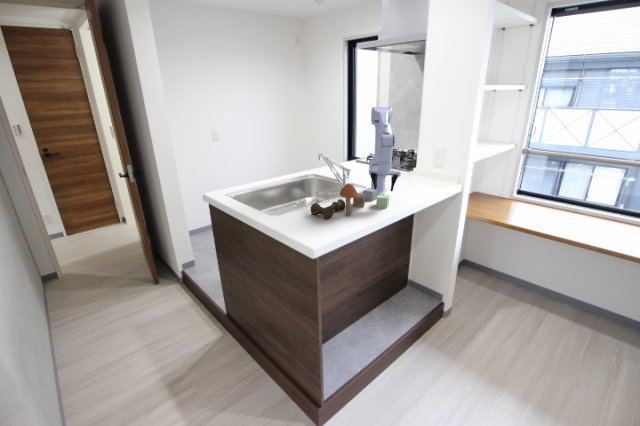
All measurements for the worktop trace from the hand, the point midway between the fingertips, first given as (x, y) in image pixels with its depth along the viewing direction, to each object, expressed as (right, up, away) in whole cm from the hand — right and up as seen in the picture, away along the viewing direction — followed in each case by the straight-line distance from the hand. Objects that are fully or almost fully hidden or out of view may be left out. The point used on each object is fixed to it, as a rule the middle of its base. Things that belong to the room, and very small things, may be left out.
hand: (383, 189), depth 150 cm
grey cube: (-4, -4, +13) cm, 14 cm away
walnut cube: (-11, -7, +4) cm, 14 cm away
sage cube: (0, -8, +3) cm, 8 cm away
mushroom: (-17, -12, -7) cm, 22 cm away
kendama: (-27, -12, -6) cm, 30 cm away
